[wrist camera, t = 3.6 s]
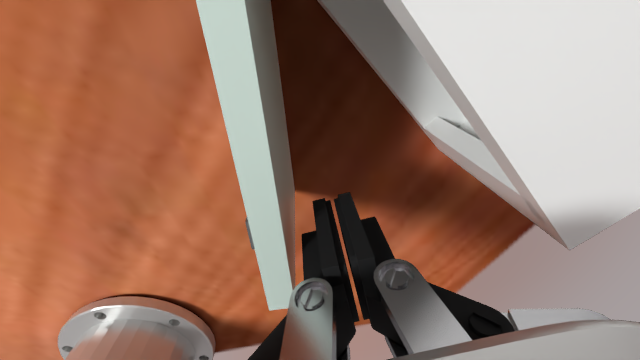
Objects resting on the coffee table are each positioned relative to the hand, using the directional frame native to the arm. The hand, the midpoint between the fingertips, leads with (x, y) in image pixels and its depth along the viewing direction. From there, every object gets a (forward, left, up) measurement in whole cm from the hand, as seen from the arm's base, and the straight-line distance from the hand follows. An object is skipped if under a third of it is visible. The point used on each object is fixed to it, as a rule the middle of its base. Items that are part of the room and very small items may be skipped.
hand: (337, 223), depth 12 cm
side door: (+1, +6, -7) cm, 9 cm away
